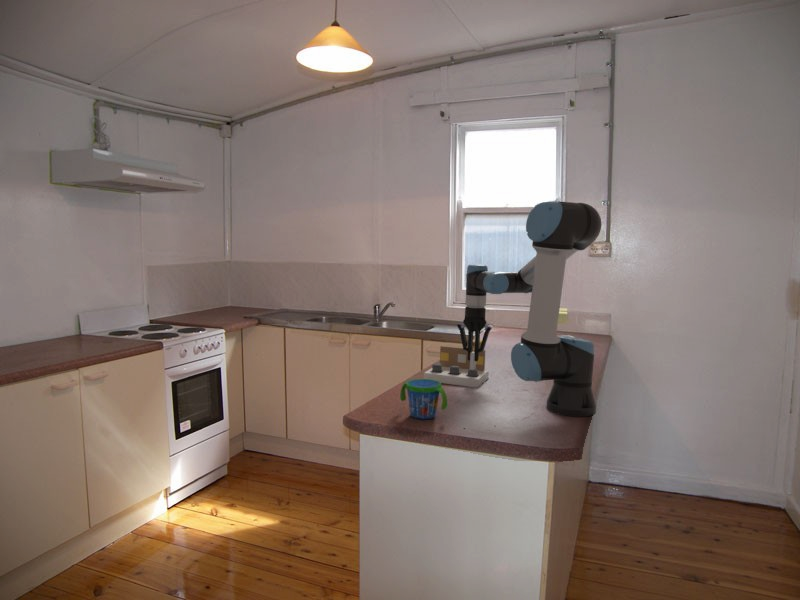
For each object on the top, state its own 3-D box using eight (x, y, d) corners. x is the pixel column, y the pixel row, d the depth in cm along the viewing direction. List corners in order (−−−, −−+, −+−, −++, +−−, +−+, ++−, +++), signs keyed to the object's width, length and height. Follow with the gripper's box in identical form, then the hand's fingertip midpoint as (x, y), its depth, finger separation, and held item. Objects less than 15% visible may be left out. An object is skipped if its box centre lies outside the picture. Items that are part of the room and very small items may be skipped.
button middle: (457, 377, 206) (458, 368, 206) (448, 376, 208) (448, 367, 207) (460, 375, 210) (460, 366, 209) (451, 374, 211) (451, 365, 211)
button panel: (478, 387, 200) (479, 357, 199) (423, 380, 208) (424, 351, 207) (488, 378, 215) (489, 350, 214) (437, 372, 223) (438, 345, 222)
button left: (439, 375, 209) (440, 366, 209) (430, 374, 210) (431, 365, 210) (442, 373, 212) (443, 364, 212) (433, 372, 214) (434, 363, 213)
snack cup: (391, 413, 167) (392, 380, 166) (414, 407, 174) (415, 375, 173) (431, 426, 156) (432, 391, 155) (454, 418, 164) (455, 384, 163)
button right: (475, 380, 204) (476, 371, 204) (466, 379, 205) (466, 370, 205) (478, 378, 207) (478, 369, 207) (469, 377, 209) (469, 368, 208)
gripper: (495, 306, 204) (492, 369, 207) (461, 304, 209) (458, 365, 212) (490, 308, 198) (487, 373, 200) (455, 306, 202) (452, 369, 205)
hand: (472, 369), depth 206 cm, fingers closed
